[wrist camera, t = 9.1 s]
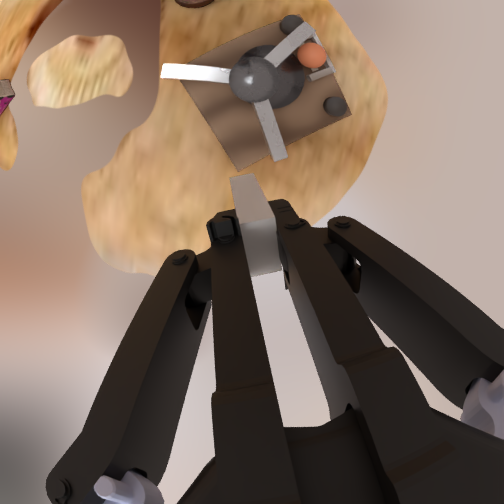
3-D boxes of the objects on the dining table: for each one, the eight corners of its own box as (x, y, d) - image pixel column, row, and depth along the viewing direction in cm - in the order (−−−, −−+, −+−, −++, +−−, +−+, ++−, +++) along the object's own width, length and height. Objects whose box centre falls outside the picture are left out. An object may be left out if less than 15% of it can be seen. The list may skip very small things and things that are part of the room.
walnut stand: (175, 72, 31) (171, 69, 28) (296, 16, 28) (303, 10, 25) (237, 169, 40) (239, 175, 37) (347, 113, 37) (357, 115, 34)
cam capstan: (209, 172, 38) (208, 189, 31) (166, 72, 29) (154, 65, 23) (329, 131, 37) (353, 140, 30) (295, 31, 28) (315, 17, 21)
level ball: (288, 50, 30) (296, 45, 26) (312, 41, 29) (322, 36, 26) (301, 73, 32) (311, 70, 28) (324, 64, 31) (335, 61, 28)
